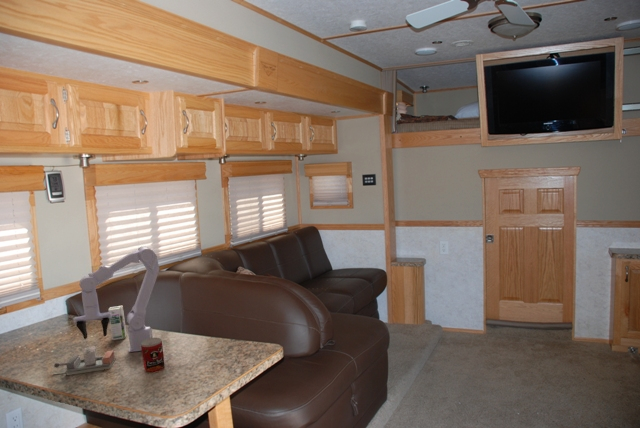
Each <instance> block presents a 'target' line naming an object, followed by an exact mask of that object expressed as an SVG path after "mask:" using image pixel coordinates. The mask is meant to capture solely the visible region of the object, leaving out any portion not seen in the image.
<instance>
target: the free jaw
mask: <svg viewBox="0 0 640 428" xmlns="http://www.w3.org/2000/svg"><path fill="white" fill-rule="evenodd" d="M114 355H115V351H114V350H113V349H112V350H107V351H106V352H105V353H104V355H103V358H102V364H110V365H111V363H112V361H113V359H114V358H116V356H115V357H114Z"/></svg>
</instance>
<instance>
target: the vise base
mask: <svg viewBox="0 0 640 428" xmlns="http://www.w3.org/2000/svg"><path fill="white" fill-rule="evenodd" d="M115 355H116V354H114V357H115V358H114V359H113V361H112V363H111V365H110V364H102V358H103V356H104V355H103V356H102V355H101V356H97V365H95V366H88V367H85V361H84V358H82V359H81V356H79V355H72V356H71V357H70V358H69V359H68V361H67V362H62V363H58V362H56V363H54V364H53V366H54V368H59V367H60V366H61V367H62V366H66V376H69V375H70V376H71V375H77V374H78V375H79V374H84V373H91V372H97V371H104V369H105V370H110V369H111V368H112V366H113V364H114V362H115V361H116V356H115Z"/></svg>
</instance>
